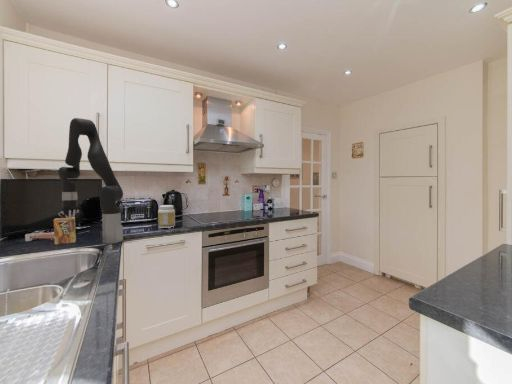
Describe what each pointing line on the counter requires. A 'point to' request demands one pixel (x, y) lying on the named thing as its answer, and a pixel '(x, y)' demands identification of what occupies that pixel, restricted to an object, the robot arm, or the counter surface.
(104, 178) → the robot arm
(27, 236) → the steel keeper
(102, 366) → the counter surface
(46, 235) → the link
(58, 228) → the candy box
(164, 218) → the supplement tub
